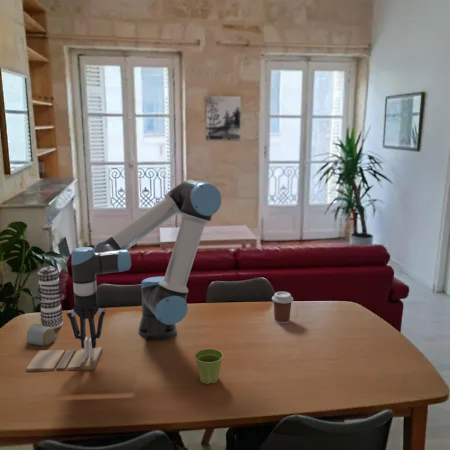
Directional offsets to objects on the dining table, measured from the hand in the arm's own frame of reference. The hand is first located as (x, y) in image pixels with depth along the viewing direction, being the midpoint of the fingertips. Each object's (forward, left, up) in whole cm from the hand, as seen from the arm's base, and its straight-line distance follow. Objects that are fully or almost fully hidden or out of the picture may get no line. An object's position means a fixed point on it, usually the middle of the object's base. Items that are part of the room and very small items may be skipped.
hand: (89, 356), depth 158 cm
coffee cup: (-75, -33, -3) cm, 82 cm away
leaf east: (+15, 0, -2) cm, 15 cm away
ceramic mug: (+21, -17, -3) cm, 28 cm away
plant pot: (-42, +13, -3) cm, 44 cm away
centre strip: (+8, 0, -3) cm, 9 cm away
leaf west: (+1, 0, -2) cm, 2 cm away
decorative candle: (+23, -34, -3) cm, 41 cm away
